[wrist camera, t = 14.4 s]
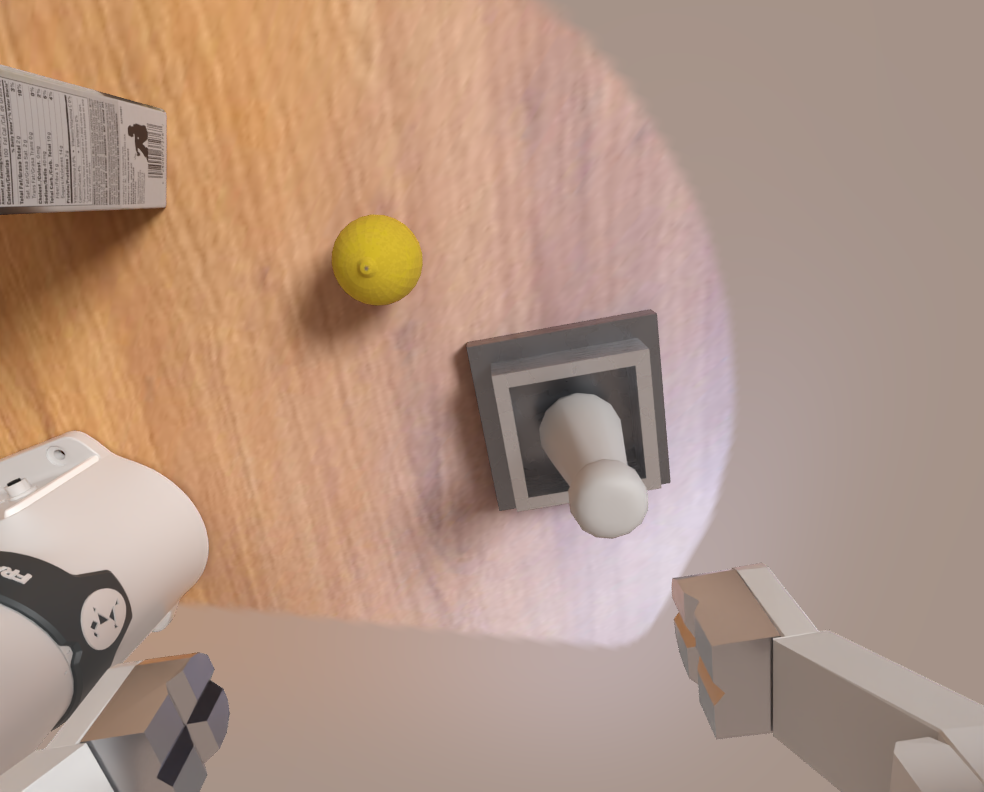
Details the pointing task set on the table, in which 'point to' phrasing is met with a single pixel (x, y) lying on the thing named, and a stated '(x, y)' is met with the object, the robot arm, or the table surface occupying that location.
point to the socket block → (561, 372)
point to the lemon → (377, 260)
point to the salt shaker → (594, 465)
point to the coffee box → (77, 148)
